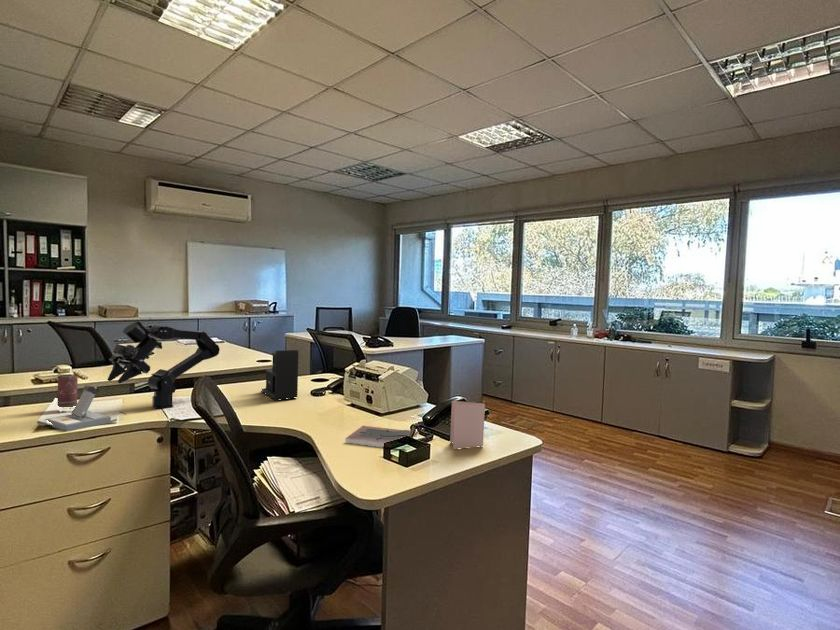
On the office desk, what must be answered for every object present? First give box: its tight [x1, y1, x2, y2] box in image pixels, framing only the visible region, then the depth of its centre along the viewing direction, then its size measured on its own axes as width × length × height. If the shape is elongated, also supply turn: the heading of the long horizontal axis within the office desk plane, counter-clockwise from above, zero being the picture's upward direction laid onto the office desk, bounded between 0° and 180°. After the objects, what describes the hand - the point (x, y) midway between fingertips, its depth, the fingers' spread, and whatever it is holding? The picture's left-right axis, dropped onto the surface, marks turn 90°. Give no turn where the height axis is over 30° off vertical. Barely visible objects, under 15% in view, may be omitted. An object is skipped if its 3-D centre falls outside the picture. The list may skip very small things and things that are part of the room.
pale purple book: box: [344, 425, 420, 448], centre depth 159 cm, size 16×2×22 cm
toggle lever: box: [71, 385, 100, 418], centre depth 164 cm, size 2×6×11 cm, turn 63°
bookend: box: [261, 349, 299, 401], centre depth 220 cm, size 23×11×24 cm, turn 35°
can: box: [57, 374, 79, 407], centre depth 178 cm, size 6×6×14 cm
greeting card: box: [449, 400, 486, 450], centre depth 154 cm, size 11×7×15 cm, turn 77°
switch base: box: [45, 410, 112, 432], centre depth 163 cm, size 14×14×2 cm
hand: (113, 381), depth 172 cm, fingers open, 6 cm apart
